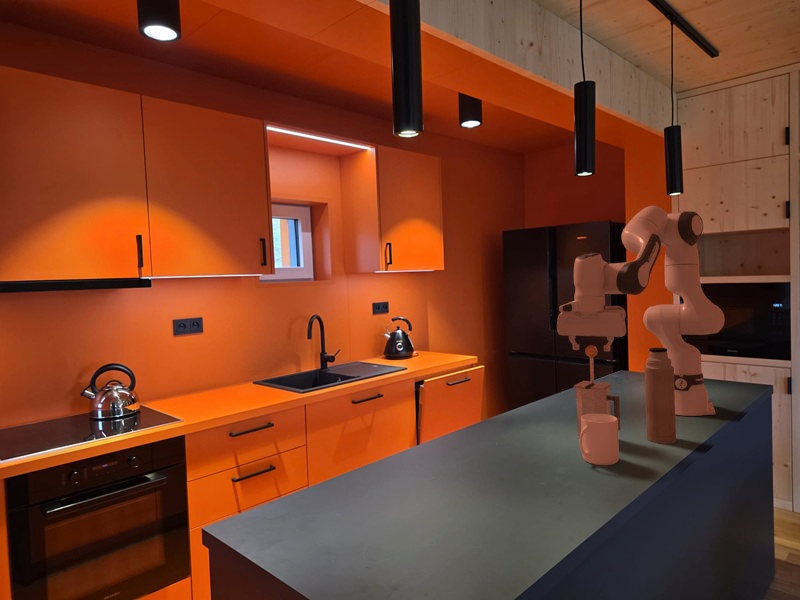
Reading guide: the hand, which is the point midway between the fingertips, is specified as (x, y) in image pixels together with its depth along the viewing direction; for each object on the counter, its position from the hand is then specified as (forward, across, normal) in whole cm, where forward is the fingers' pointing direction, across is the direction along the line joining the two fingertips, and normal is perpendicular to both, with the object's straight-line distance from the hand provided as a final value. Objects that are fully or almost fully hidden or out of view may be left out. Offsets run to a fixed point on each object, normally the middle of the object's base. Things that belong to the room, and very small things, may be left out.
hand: (591, 350), depth 159 cm
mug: (+28, -7, +18) cm, 34 cm away
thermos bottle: (+28, -17, -10) cm, 34 cm away
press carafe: (+28, -2, 0) cm, 28 cm away
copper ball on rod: (+16, 0, 0) cm, 16 cm away
